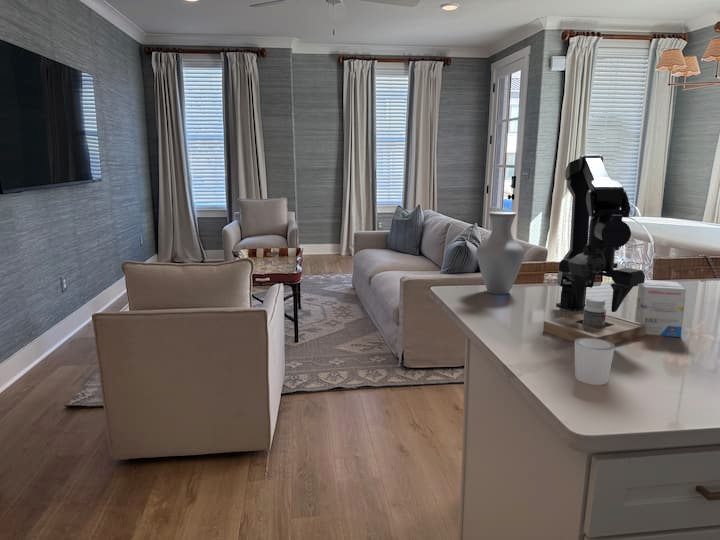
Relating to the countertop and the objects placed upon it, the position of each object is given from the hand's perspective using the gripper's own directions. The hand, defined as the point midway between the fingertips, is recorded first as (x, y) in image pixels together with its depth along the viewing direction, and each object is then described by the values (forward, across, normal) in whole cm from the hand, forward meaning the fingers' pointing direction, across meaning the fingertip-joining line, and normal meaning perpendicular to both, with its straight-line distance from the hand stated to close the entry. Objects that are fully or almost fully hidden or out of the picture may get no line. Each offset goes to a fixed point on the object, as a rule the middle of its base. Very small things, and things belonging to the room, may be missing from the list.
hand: (596, 307), depth 120 cm
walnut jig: (+6, 0, 0) cm, 7 cm away
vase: (+7, -41, +9) cm, 43 cm away
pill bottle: (+7, 0, 0) cm, 7 cm away
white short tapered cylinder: (+7, +17, -23) cm, 29 cm away
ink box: (+7, +6, +15) cm, 18 cm away
